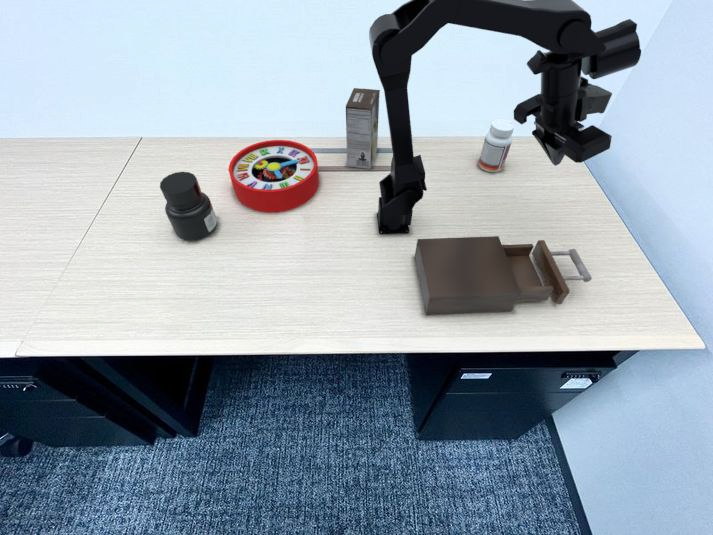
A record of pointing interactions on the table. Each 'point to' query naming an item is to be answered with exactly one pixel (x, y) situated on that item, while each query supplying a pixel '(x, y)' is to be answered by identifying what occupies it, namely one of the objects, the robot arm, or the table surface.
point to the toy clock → (274, 175)
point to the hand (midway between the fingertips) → (556, 163)
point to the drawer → (542, 271)
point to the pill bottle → (496, 145)
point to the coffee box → (362, 127)
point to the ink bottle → (188, 207)
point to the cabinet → (465, 276)
